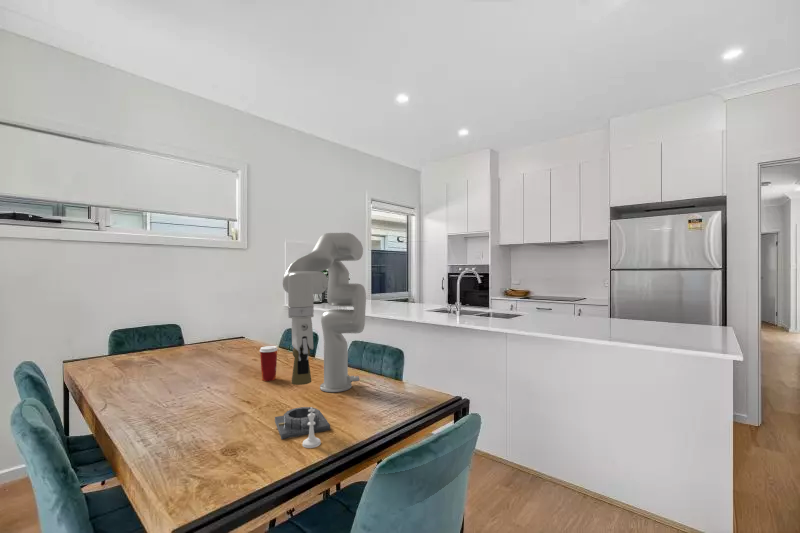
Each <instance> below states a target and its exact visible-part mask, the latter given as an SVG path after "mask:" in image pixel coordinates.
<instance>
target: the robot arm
mask: <svg viewBox="0 0 800 533" xmlns="http://www.w3.org/2000/svg"><path fill="white" fill-rule="evenodd" d="M363 255H364V247H363V244H362V241H360V240H359V238H358V237H356V236H355V235H354V234H353V233H350V232H326V233H324V234H321V236H320V237H319V238H318V240H317V242H316V244H315V245H314V247H313V249H312V251H311V252H309V253H306V254H305V255H303V256H301V257H299V258H297V259H295V260H294V261H293V262H291V264H289V266H288V268H287V270H286V271H285V273H284V275H283V278H282V287H283V290H284V291H285V293H287V295H288V296H287V298H288V300H287V301H288V302H287V303H288V306H287V307H288V308H287V310H288V315H287V317H288V319H291V344H292V347H293V349H294V348H295V349H296V350H297V351H298V360H299V361H297V373H298V374H307V373H308V372H309V367H310V362H309V363H308V360H309V356H308V348H309V349H310V351H312V350H314V333H313V320H312V318H314V313H315V312H314V308H315V307H314V295H320V294H322V293H324V292H325V291H326V290H327V293H326V295H327V296H326V301H327V304H328V305H329V306H332V307H338V308H339V307H342V308H343V307H345V308H346V307H349V308H351V307H352V308H353V309H342V308H341V309H336V308H335V309H328V310H326V311H324V312H323V313H322V314H321V318H320V319H321V320H320V324H321V330H322V335H323V336H322V337H323V382H322V383H321V384H320V385H319V389H320V390H321V391H323V392H326V393H340V392H345V391H348V390H350V389H351V388H352V383H353V382H359V381H360V376H359V375H357V376H355V375H349V374H348V371H349V370H348V369H349V367H348V366H349V364H348V358H349V356H348V351H349V350H348V345H349V344H348V341H347V340H346V338H345V337H344V335H343V334H361V333H362V332H363V331H364V329H365V327H366V326H365V324H366V305H367V303H366V302H367V301H366V300H367V295H366V294H367V293H366V289H365V286H364V285H363V284H362V283H349V282H350V272H349V270H348V267H347V266H346V265H345V264H344V263H343V262H355V261H359V260H361V258H362V257H363ZM325 270H327V273H328V276H327V275H326V274H325V273H324V272H323V271H325ZM300 348H303V350H300ZM301 352H303V353H301Z"/></svg>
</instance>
